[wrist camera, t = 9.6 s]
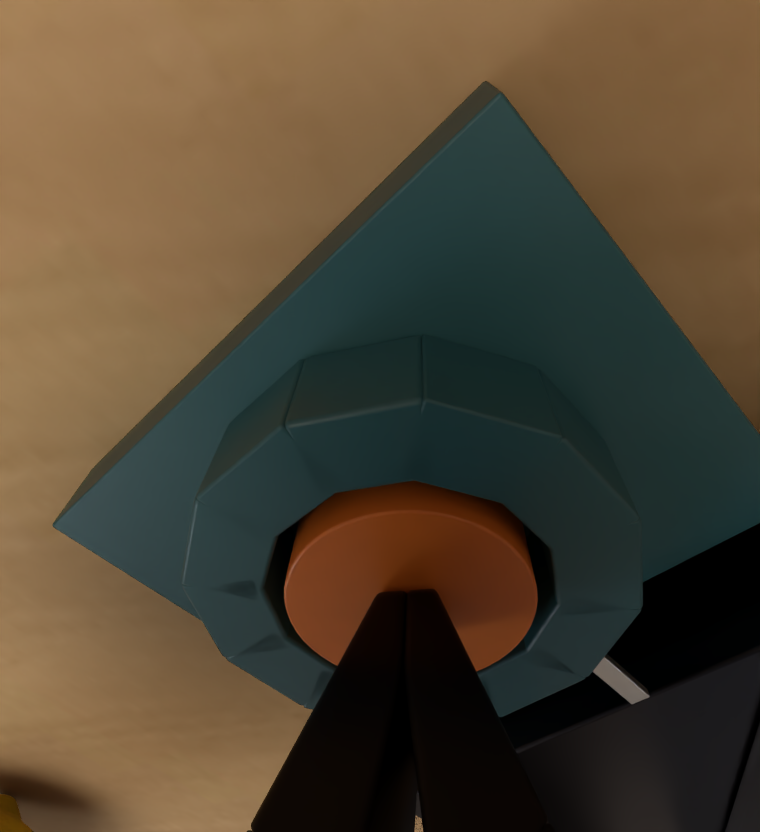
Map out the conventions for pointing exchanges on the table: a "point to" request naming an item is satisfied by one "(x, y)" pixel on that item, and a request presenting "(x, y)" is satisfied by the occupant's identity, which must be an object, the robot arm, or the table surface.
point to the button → (411, 566)
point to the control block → (438, 414)
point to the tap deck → (657, 708)
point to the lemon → (11, 816)
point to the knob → (748, 794)
